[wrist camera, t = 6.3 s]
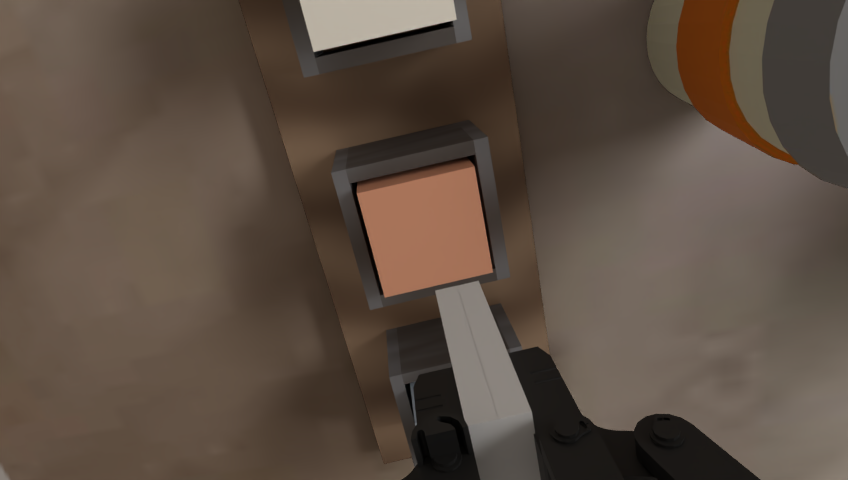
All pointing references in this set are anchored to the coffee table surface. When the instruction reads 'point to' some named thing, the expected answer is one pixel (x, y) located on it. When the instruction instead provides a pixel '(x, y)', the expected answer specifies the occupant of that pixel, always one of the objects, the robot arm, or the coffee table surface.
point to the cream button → (369, 19)
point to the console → (395, 152)
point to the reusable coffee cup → (762, 73)
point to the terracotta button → (425, 226)
